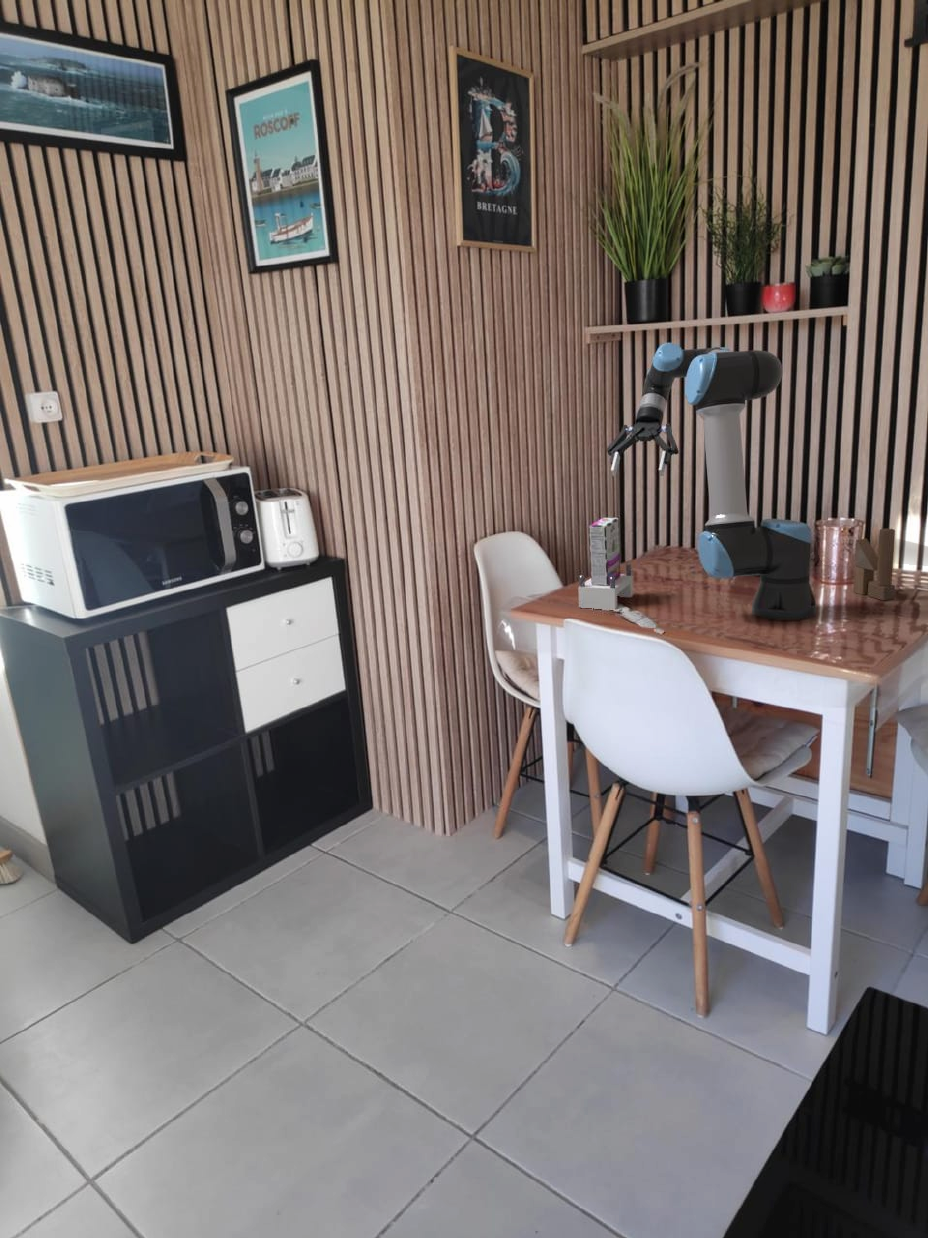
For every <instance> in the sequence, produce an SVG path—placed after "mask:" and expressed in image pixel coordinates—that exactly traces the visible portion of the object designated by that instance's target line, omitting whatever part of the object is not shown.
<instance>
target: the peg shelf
mask: <svg viewBox="0 0 928 1238" xmlns="http://www.w3.org/2000/svg"><path fill="white" fill-rule="evenodd" d="M620 575H621V576H620V577H618V578H617V579H616V580H615V576H610V585H608V586H599V585H592V581H591V577H590V578H589V579H588V580H586V581H585V579H586V577H585V574H579V575H578V580H579V583H578V584H579V586H578V608H579V607H581V608H592V609H591V610H593V608H594V609H602V610H601V611H609V610H615V609H616V608H617V604H618V597H617V596H620V597H619V598H633V595H634V591H633V590H634V589H633V585H634V584H633V583H634V582H633V574H632V563H626V564H625V573H620Z"/></svg>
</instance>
